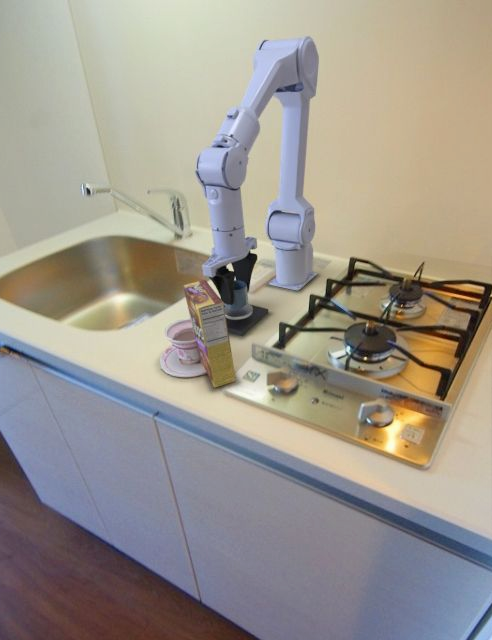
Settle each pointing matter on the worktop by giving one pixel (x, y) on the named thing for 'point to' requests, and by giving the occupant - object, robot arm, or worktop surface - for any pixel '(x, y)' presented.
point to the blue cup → (239, 295)
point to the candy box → (210, 332)
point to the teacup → (181, 350)
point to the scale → (246, 321)
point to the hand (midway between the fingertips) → (236, 297)
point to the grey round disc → (238, 312)
